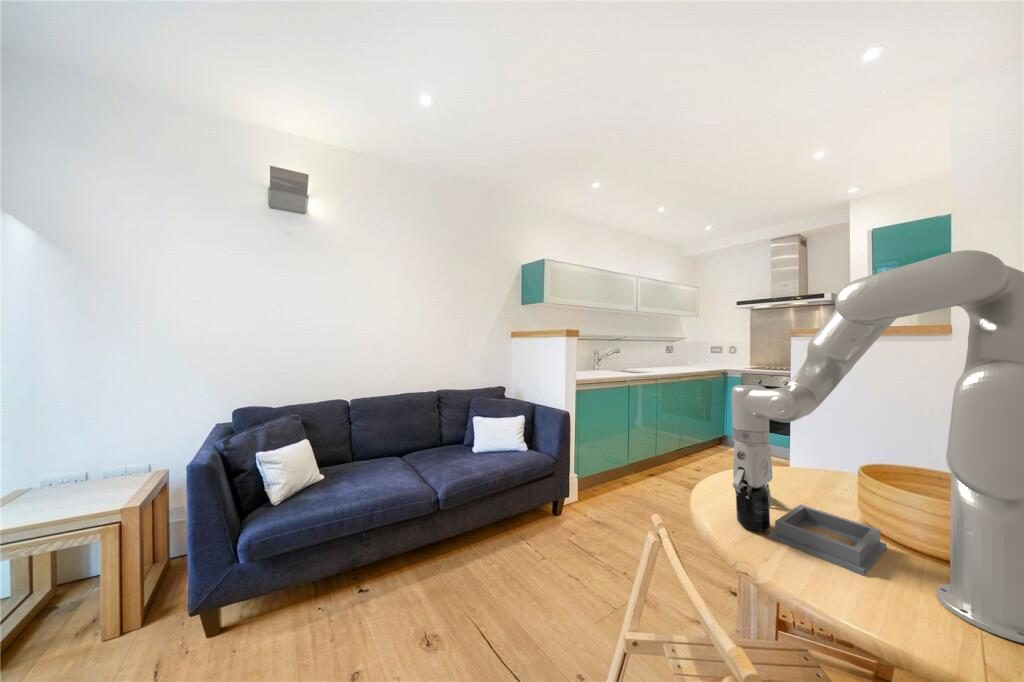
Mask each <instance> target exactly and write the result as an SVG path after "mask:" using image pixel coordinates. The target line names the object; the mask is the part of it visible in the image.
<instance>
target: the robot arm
mask: <svg viewBox="0 0 1024 682" xmlns="http://www.w3.org/2000/svg"><path fill="white" fill-rule="evenodd" d="M834 301H835V302H834V307H835V310H834V311H833V312H832V314H831V315H830V316H829V317H828V318H827V319H826V320H825V322H824V323H823V325H821V327H820V328H819V329H818V331H817V332H816V333H815V334H814V335H813V336H812V337H811V339H810V340H809V342H808V345H807V348H806V349H807V351H806V352H807V353H806V358H805V361H804V362H803V364H802V366H800V368H799V370H798V371H797V372H796V373H795V375H794V376H793V377H792V378H791V380H789V382H788V383H787V384H786V385H784V386H781V387H777V388H766V387H765V386H763V385H757V384H737V385H735V386H733V387H732V389H731V412H732V413H731V416H732V417H731V420H732V421H731V422H732V423H731V424H732V441H733V442H734V448H733V456H732V457H733V461H732V466H733V467H732V471H733V472H732V473H733V481H732V487H733V488H734V492H735V496H736V495H737V510H738V512H741V513H744V514H747V515H749V516H751V515H753V502H752V498H750V497H751V492H752V487H753V488H758V487H760V486H764V487H765V488H766V489H767V488H768V486H767V484H769V483H770V482H771V481H772V480H773V464H772V463H773V462H772V453H771V447H770V444H771V443H770V442H771V441H770V420H772V421H775V422H779V423H792V422H795V421H798V420H800V419H802V418H803V417H806V416H809V415H810V414H812V413H814V411H816V409H817V408H819V406H820V405H821V404H822V403H823V402H824V401H825V400H826V398H828V397H829V396H830V394H832V392H833V391H834V390H835V389H836V388H837V386H838V385H839V384H840V383H841V382H842V381H843V379H844V377H846V376H847V375H848V373H850V372H851V370H852V369H853V368H854V366H855V365H856V363H857V362H859V360H860V359H861V358H862V357H863V356H864V355H865V353H866V352H867V351H868V350H869V349H870V348H871V347H872V346H873V345H874V344H875V342H876V341H877V340H878V339H880V337H881V336H882V335H883V334H884V333H885V332H886V330H888V328H890V326H891V325H892V324H893V323H894V322H895V321H896V320H897V319H900V318H904V317H909V316H915V315H918V314H924V313H928V312H929V313H930V312H933V311H938V310H939V311H940V310H942V309H943V310H944V309H946V308H953V307H960V308H962V309H963V310H964V311H965V312H966V314H967V316H968V319H969V328H968V337H967V350H966V356H965V357H966V360H965V364H964V369H963V372H962V374H961V375H960V377H959V378H958V379H957V381H956V384H955V386H954V390H953V395H952V405H951V412H950V422H949V432H948V437H947V438H948V439H947V445H946V446H947V447H946V454H945V455H946V456H945V459H946V460H945V461H946V464H947V467H948V470H949V471H950V551H949V555H950V565H949V568H950V570H949V571H950V574H949V575H950V576H949V579H950V583H944V584H940V585H938V586H937V587H936V589H935V592H936V598H937V600H938V601H939V602H940V604H941V605H942V606H943V607H945V608H946V609H948V611H949V612H951V613H952V614H954V615H955V616H957V617H958V618H961V619H963V621H966V622H967V623H969V624H972V625H974V626H975V627H977V628H980V629H982V630H984V631H986V632H989V633H991V634H994V635H995V636H999V637H1001V638H1005V639H1007V640H1010V641H1013V642H1016V643H1020V644H1024V271H1022V270H1019V269H1017V268H1014V267H1012V266H1009V265H1006V264H1005V263H1004V262H1003V261H1002V259H1000V258H999V257H998V256H997V255H996V256H995V255H994V254H992V253H989V252H986V251H982V250H973V249H972V250H971V249H970V250H969V249H967V250H966V249H965V250H957V251H952V252H947V253H944V254H940V255H936V256H933V257H929V258H926V259H922V260H920V261H916V262H913V263H909V264H906V265H902V266H898V267H896V268H893V269H889V270H885V271H882V272H879V273H878V272H877V273H874V274H872V275H867V276H864V277H861V278H857V279H854V280H852V281H851V282H849V283H848V284H846V285H844V286H843V287H842V288H841V289H840V290H839V291H838V293H837V294H836V296H835V300H834ZM743 481H746V482H747V483H748V484H745V483H742V482H743ZM742 486H745V487H747V492H746V491H745V489H744V488H742Z"/></svg>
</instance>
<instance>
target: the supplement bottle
mask: <svg viewBox="0 0 1024 682" xmlns="http://www.w3.org/2000/svg"><path fill="white" fill-rule="evenodd" d="M742 483H745V484H748V483H747V482H746V481H743V482H742ZM742 488H744V489H745V491H746V492H747V487H745V486H742ZM750 498H752V502H753V515H751V516H749V515H747V514H744V513H741V512H738V510H737V495H736V494H735V509H736V521H737V522H738V523H739V525H741V526H743V527H744V528H747V529H751V530H755V531H765V530H768V529H770V527H771V514H770V513H771V512H770V511H771V510H770V507H769V492H768V490H767V489H766V488H765V487H764V486H760V487H758V488H753V487H752V492H751V497H750Z"/></svg>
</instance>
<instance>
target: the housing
mask: <svg viewBox="0 0 1024 682" xmlns="http://www.w3.org/2000/svg"><path fill="white" fill-rule="evenodd" d="M774 526H775V527H774V530H773V531H771V532H770V533H769V538H770V539H772V540H774V541H777V542H779V543H782V544H784V545H787V546H789V547H792V548H794V549H797V550H799V551H801V552H804V553H806V554H809V555H811V556H814V557H816V558H819V559H822V560H824V561H827V562H829V563H832V564H833V565H837V566H839V567H841V568H844V569H845V570H849V571H850V572H853V573H856V574H858V575H861V576H865V575H866V574H867V573H868V572H869V571H870V570H871V568H872V567H873V566H874V564H875V563H876V562H877V561H878V559H879V558H880V557H881V556H882V555H883V553H884V552H885V551H886V549H887V543H884V542H882V541H881V529H880V528H876V527H873V526H870V525H866V524H864V523H860V522H857V521H854V520H851V519H848V518H844V517H842V516H838V515H835V514H832V513H829V512H825V511H822V510H820V509H819V510H818V509H815V508H812V507H810V506H806V505H803V504H799V505H797V506H796V507H794V508H793V509H791V510H790V511H788V512H787V513H785V514H783V515H782V516H781V517H779V518H778V519H776V520H775V522H774Z"/></svg>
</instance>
